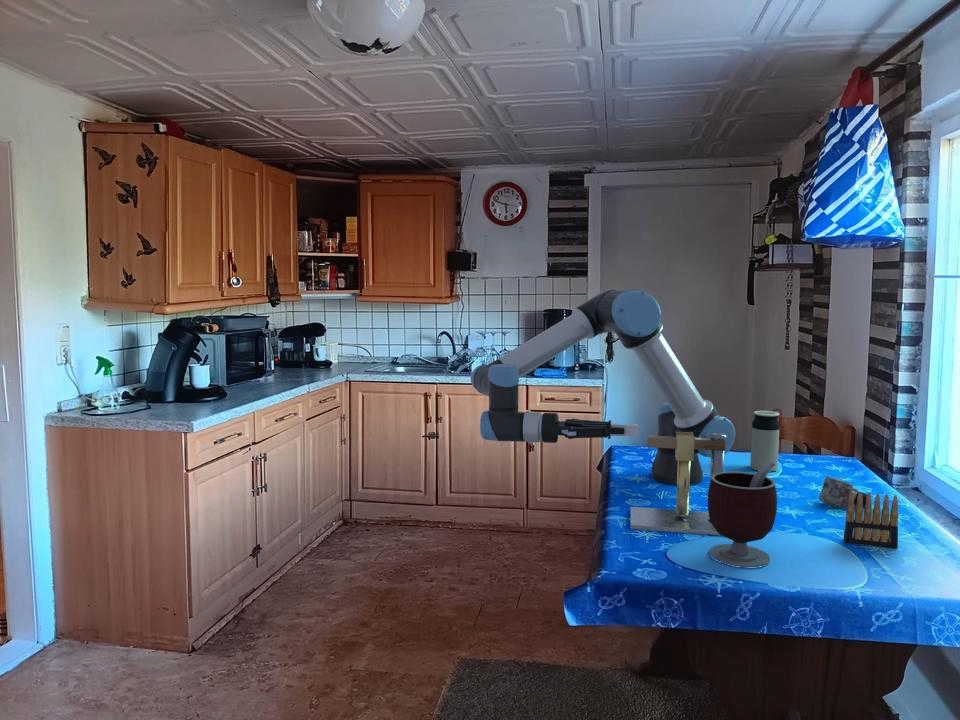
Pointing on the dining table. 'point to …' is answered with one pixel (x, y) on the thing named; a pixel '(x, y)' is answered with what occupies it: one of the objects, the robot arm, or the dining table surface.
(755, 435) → the travel mug
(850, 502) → the ammunition clip
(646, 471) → the dining table surface
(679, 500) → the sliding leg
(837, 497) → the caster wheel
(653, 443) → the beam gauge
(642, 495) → the dining table surface
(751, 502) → the mate gourd
